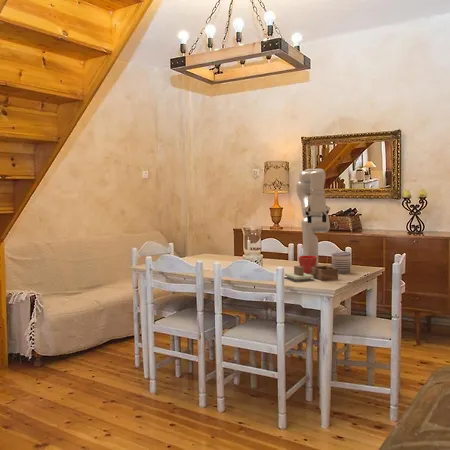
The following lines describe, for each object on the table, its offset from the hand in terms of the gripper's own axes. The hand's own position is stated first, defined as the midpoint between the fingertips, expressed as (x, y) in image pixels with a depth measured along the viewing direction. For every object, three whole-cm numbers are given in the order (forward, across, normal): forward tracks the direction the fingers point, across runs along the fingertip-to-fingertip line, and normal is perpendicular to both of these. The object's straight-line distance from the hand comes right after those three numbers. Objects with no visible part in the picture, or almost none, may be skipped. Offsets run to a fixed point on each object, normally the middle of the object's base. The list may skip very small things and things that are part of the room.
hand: (316, 222), depth 300 cm
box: (+30, +3, +13) cm, 33 cm away
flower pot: (+31, +2, -7) cm, 31 cm away
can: (+31, -16, +1) cm, 35 cm away
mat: (+30, +17, +9) cm, 36 cm away
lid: (+29, +17, +9) cm, 35 cm away
